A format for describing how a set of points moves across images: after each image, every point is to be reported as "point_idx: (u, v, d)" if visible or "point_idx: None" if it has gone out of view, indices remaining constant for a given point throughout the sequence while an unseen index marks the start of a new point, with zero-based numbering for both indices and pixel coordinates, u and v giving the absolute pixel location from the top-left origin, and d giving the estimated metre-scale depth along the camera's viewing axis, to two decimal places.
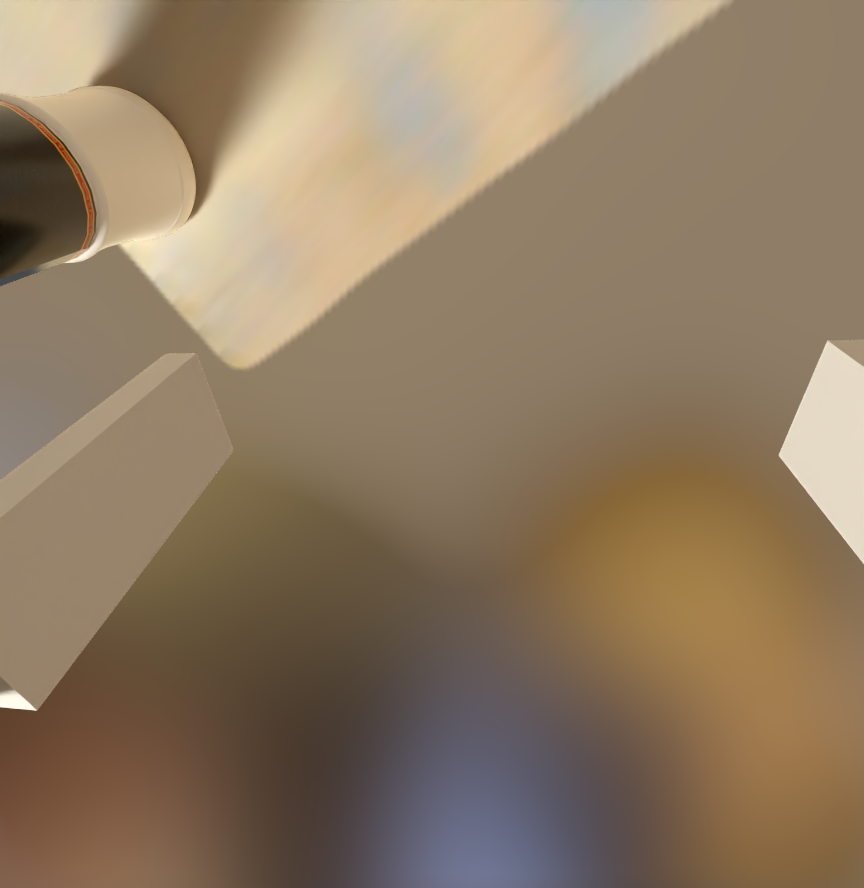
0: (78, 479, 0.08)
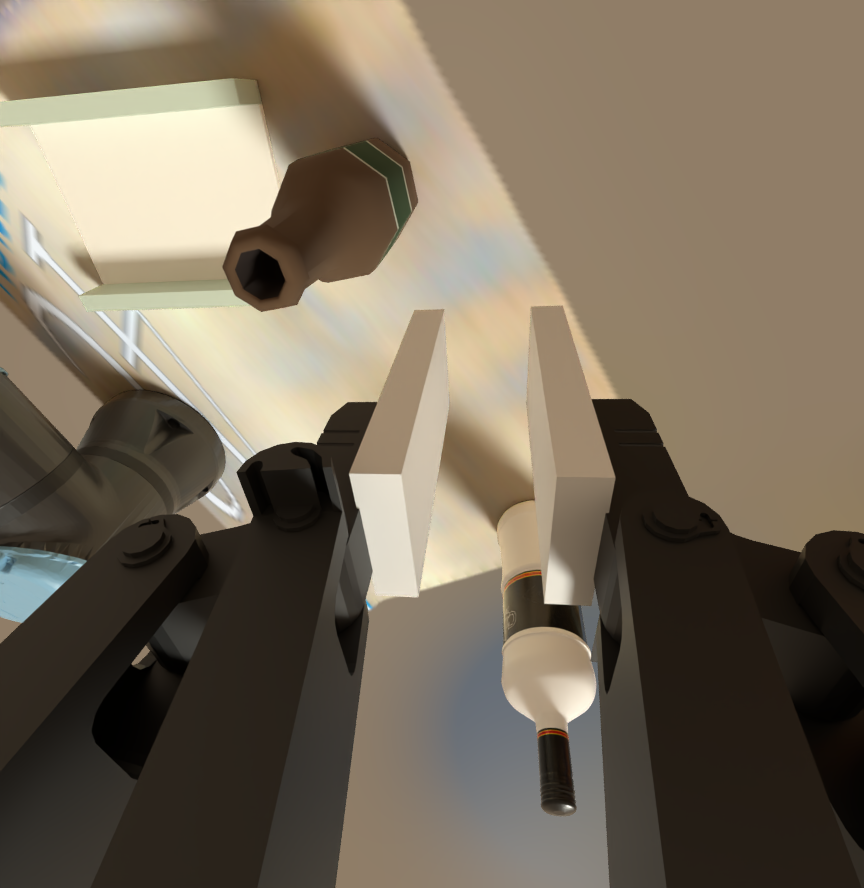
0: (425, 404, 0.09)
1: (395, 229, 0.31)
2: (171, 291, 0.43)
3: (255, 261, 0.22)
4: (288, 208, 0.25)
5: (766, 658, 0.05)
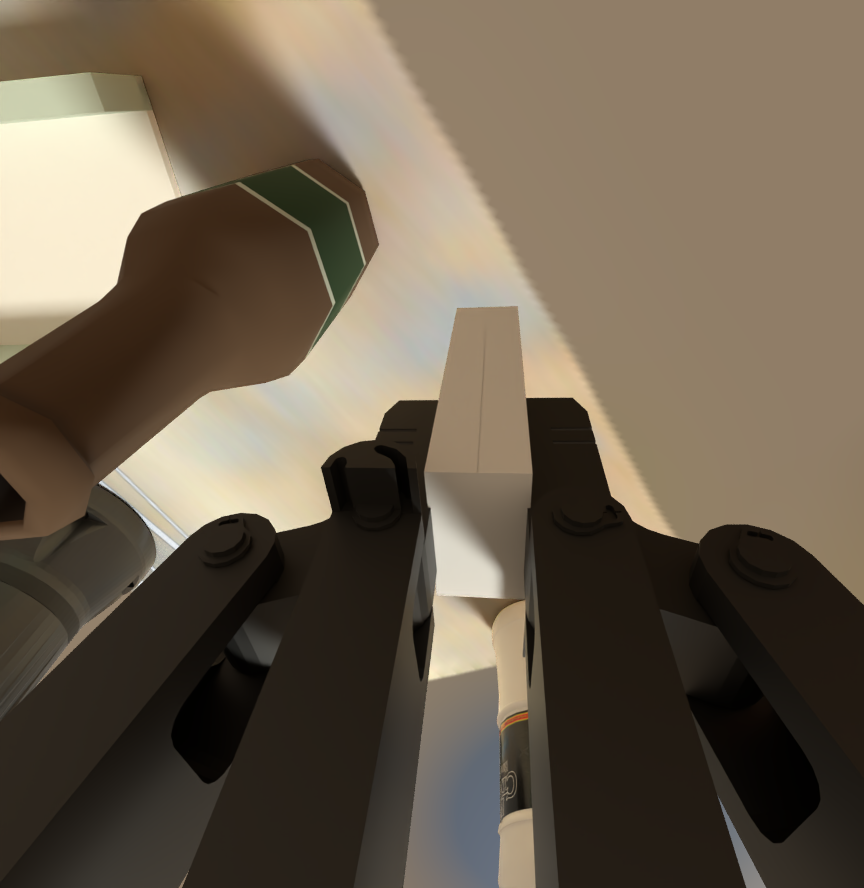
0: None
1: (327, 307, 0.20)
2: None
3: None
4: (103, 304, 0.14)
5: (663, 642, 0.05)
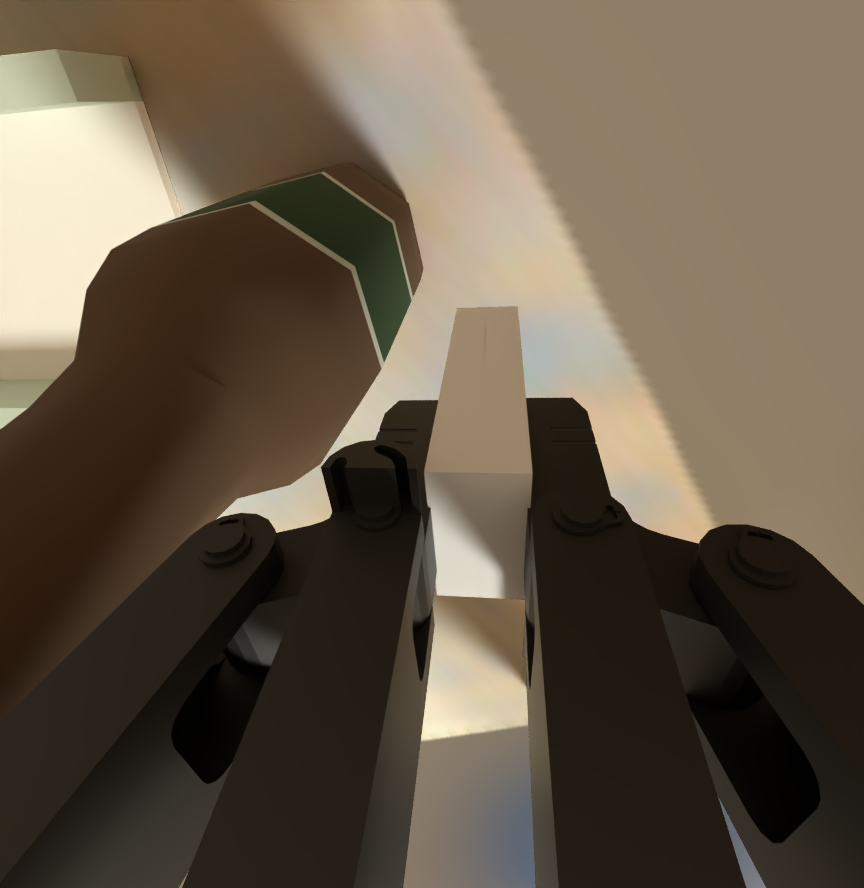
0: None
1: (375, 373, 0.14)
2: (22, 406, 0.27)
3: None
4: (32, 419, 0.08)
5: (662, 642, 0.05)
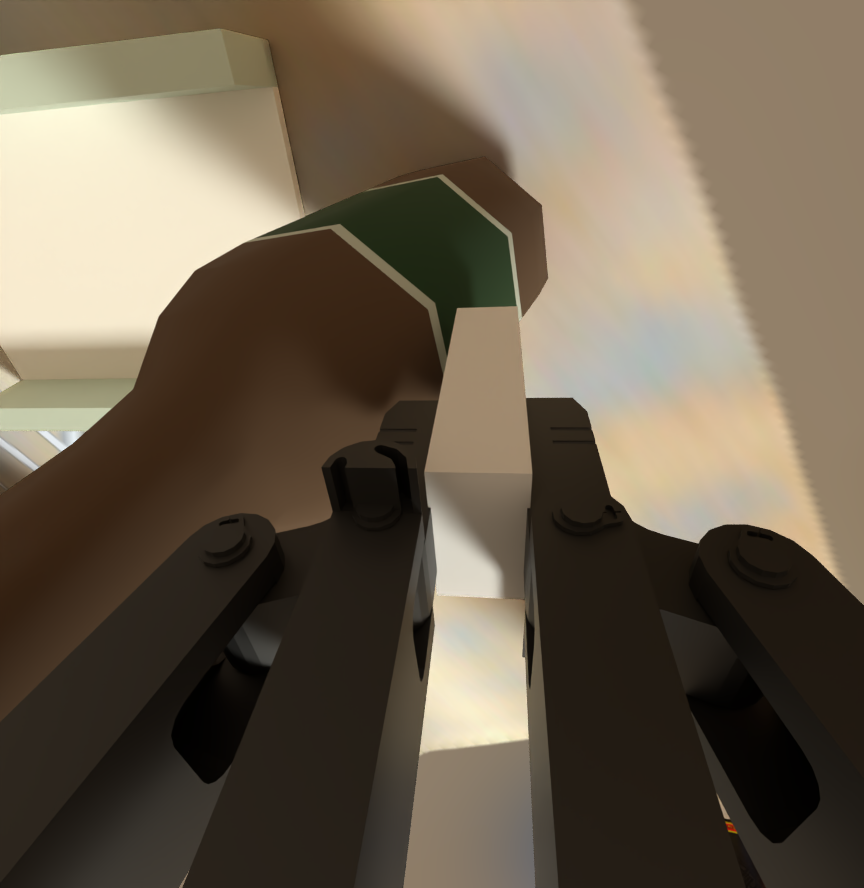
0: None
1: None
2: None
3: None
4: (63, 463, 0.08)
5: (662, 642, 0.05)
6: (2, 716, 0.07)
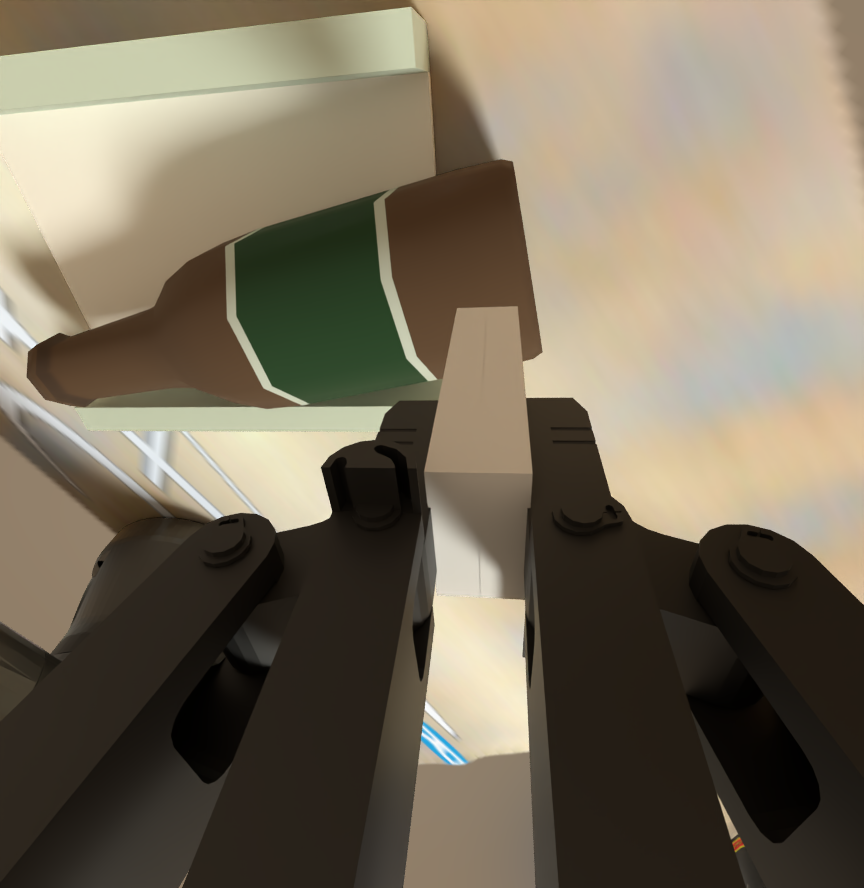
0: None
1: (250, 387, 0.20)
2: (234, 404, 0.25)
3: None
4: (134, 315, 0.22)
5: (662, 642, 0.05)
6: (82, 378, 0.23)
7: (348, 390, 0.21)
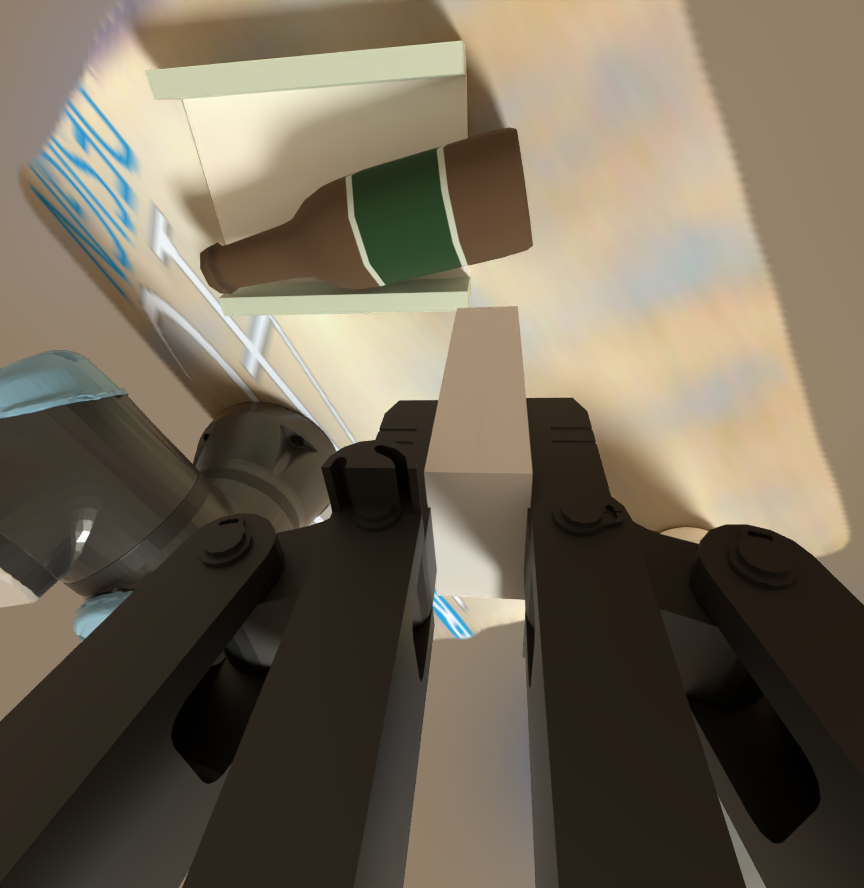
0: None
1: (356, 265, 0.32)
2: (329, 294, 0.38)
3: None
4: (272, 228, 0.35)
5: (662, 642, 0.05)
6: (238, 269, 0.35)
7: (412, 272, 0.34)
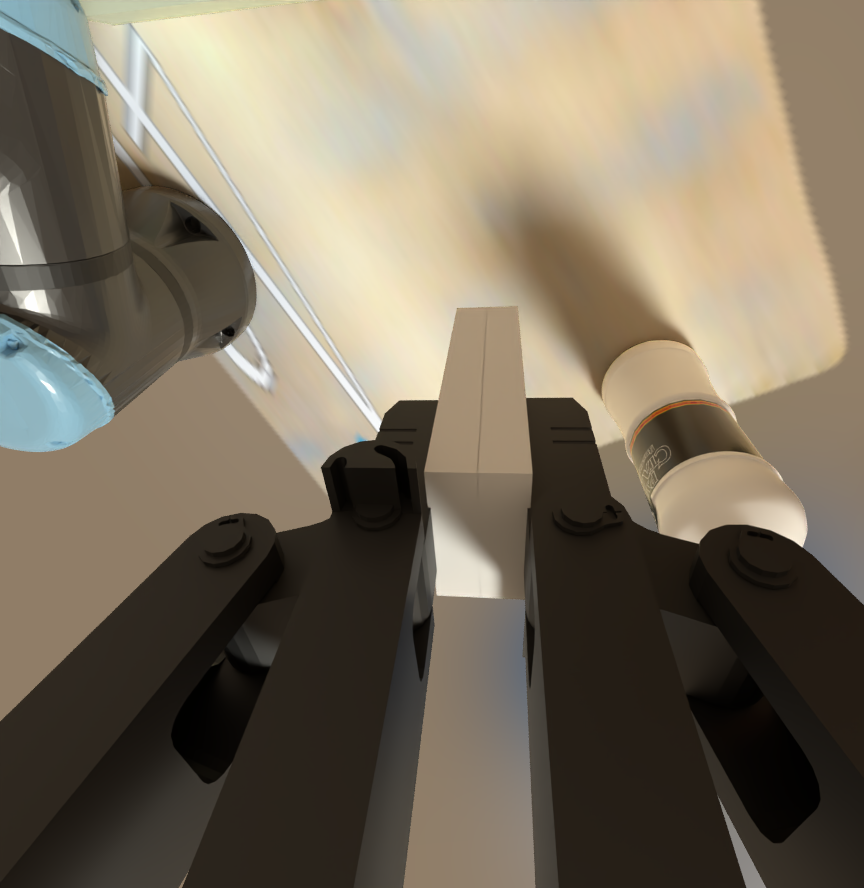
0: None
1: None
2: None
3: None
4: None
5: (664, 642, 0.05)
6: None
7: None
